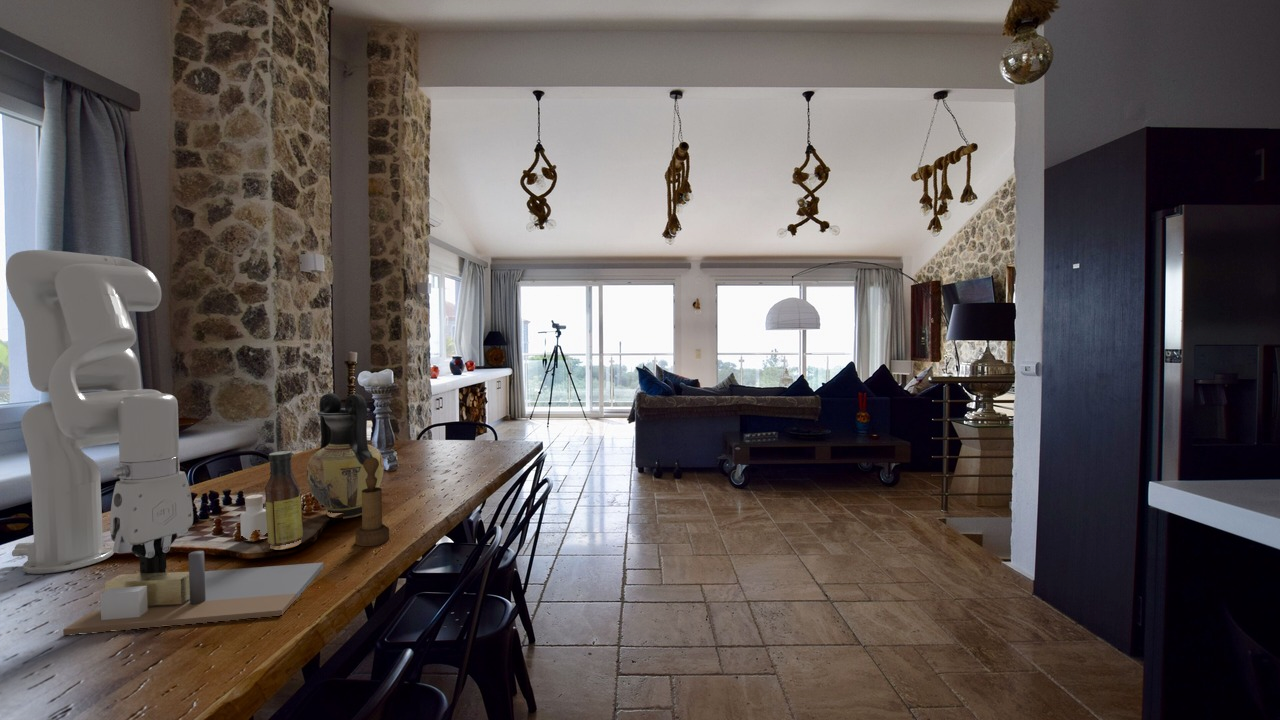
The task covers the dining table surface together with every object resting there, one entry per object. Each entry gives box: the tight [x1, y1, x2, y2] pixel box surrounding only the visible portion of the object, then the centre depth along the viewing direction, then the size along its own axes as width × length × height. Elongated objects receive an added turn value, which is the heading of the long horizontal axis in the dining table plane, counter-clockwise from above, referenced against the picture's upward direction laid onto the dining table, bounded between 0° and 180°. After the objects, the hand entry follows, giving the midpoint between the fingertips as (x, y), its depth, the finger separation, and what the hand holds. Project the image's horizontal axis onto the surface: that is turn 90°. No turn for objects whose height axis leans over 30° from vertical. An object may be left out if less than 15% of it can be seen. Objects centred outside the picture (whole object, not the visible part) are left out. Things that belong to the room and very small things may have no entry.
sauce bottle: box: [264, 450, 304, 546], centre depth 120 cm, size 7×6×20 cm
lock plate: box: [62, 550, 325, 635], centre depth 97 cm, size 29×20×9 cm
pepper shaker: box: [239, 494, 267, 540], centre depth 124 cm, size 4×4×10 cm
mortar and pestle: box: [354, 457, 390, 547], centre depth 123 cm, size 7×6×18 cm
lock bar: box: [104, 571, 190, 605], centre depth 92 cm, size 11×3×4 cm, turn 96°
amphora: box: [306, 392, 385, 519], centre depth 142 cm, size 18×17×30 cm
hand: (153, 577), depth 96 cm, fingers closed
